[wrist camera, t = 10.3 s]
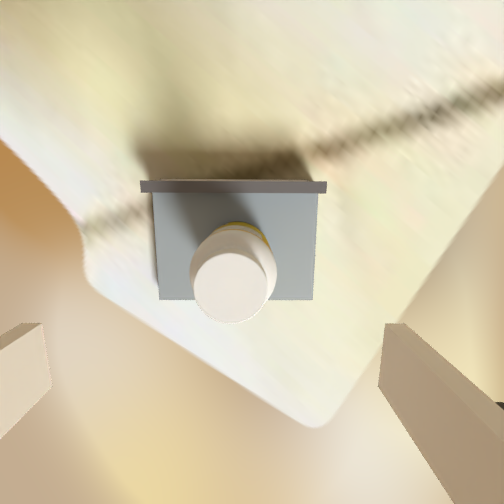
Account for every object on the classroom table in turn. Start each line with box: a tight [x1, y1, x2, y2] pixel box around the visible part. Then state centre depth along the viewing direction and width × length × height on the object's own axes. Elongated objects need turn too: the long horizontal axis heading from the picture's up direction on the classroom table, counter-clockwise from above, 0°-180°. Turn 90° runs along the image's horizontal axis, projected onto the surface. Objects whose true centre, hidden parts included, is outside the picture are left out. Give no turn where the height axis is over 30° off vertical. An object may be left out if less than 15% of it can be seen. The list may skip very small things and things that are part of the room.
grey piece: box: [140, 179, 327, 300], centre depth 29 cm, size 12×16×5 cm
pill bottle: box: [189, 221, 277, 324], centre depth 24 cm, size 6×6×12 cm
